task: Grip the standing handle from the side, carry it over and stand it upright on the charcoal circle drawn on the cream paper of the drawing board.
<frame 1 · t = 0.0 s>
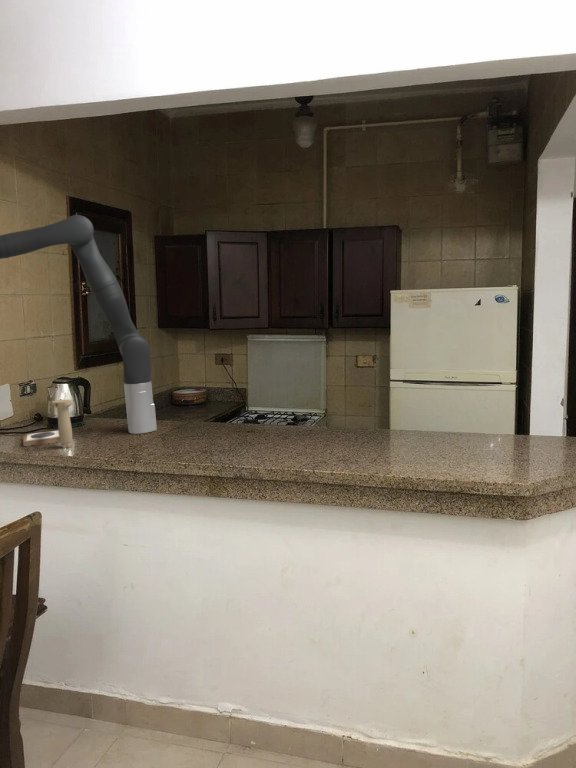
handle: (67, 447, 190), on the countertop
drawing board: (43, 440, 201), on the countertop
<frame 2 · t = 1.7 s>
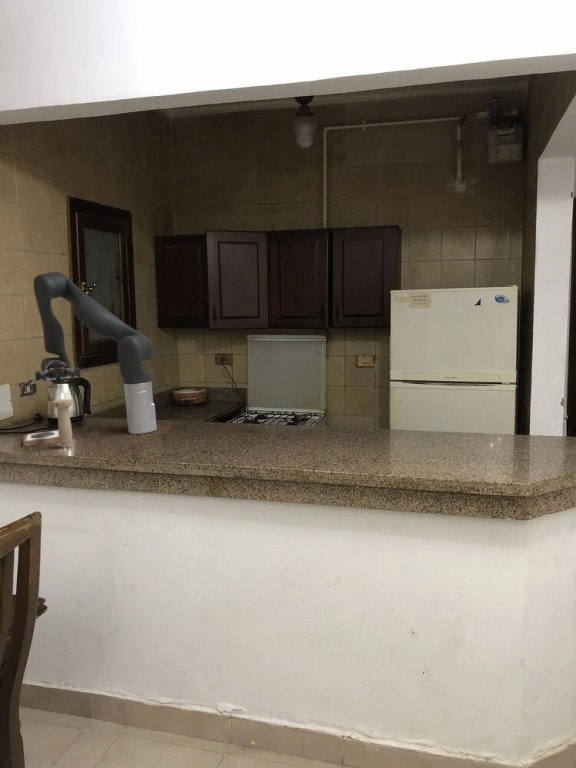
hand: (58, 376, 197), 22 cm above the countertop, tool horizontal, fingers open, 8 cm apart
nothing on the countertop moved.
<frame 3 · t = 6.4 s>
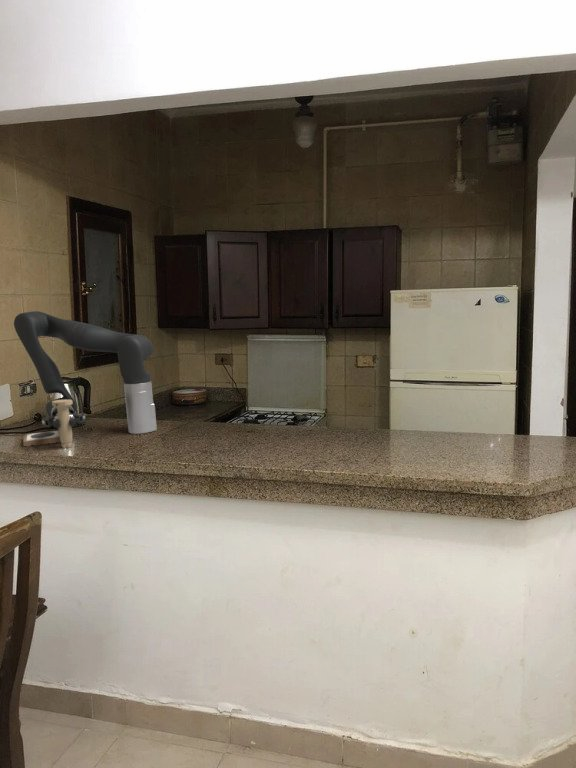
hand: (64, 424, 186), 8 cm above the countertop, tool horizontal, fingers closed on handle, 3 cm apart
handle: (67, 447, 190), on the countertop, touching gripper
when the fingers open (11 cm above the countertop, at t = 11.1 s): handle drops 1 cm, resting on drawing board.
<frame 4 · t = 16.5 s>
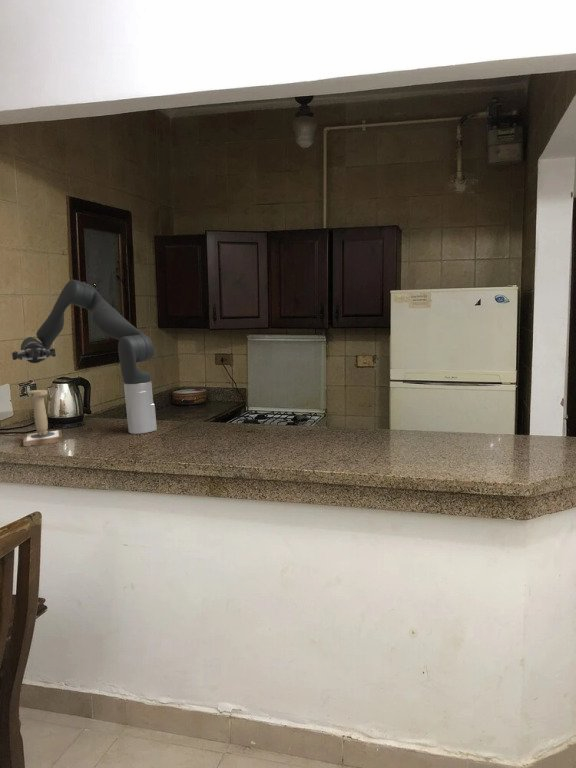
hand: (34, 355, 207), 28 cm above the countertop, tool horizontal, fingers open, 8 cm apart
handle: (42, 435, 201), point 2 cm above the countertop, touching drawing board
at the end: handle 0.1 cm off-centre on the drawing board, point 1.7 cm above the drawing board's base; handle tilted 0°; the gripper is holding nothing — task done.
